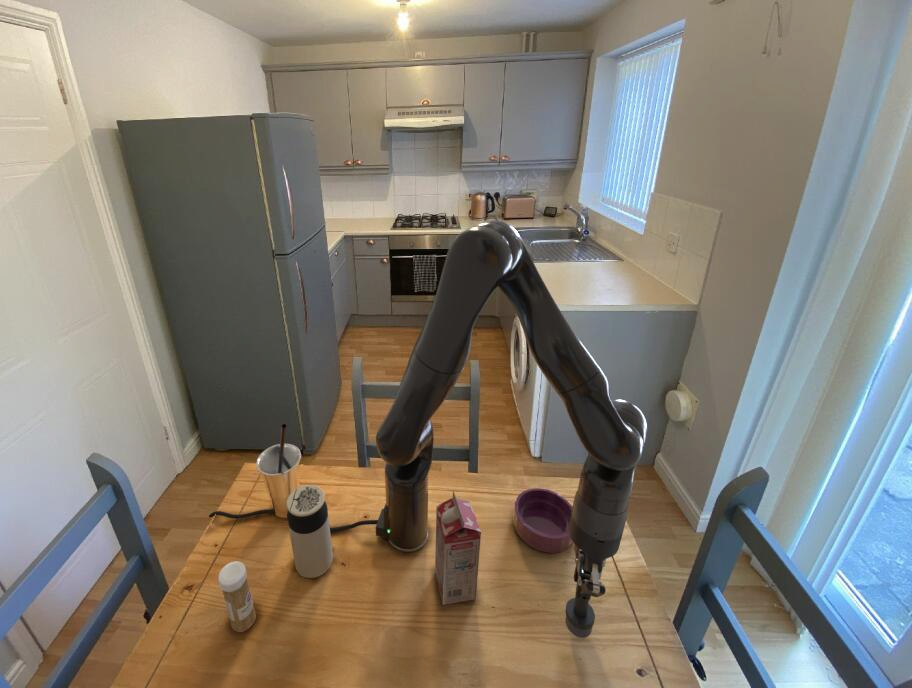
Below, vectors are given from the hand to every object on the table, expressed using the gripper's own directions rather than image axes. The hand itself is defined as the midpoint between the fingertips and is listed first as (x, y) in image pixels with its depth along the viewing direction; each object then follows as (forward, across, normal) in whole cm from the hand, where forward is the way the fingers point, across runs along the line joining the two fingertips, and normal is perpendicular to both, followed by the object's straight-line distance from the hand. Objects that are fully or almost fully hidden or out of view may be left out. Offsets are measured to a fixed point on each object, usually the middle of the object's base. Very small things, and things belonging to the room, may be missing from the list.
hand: (581, 589), depth 73 cm
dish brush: (+10, 0, +1) cm, 10 cm away
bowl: (+11, -21, -4) cm, 24 cm away
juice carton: (+11, -3, -22) cm, 25 cm away
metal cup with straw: (+11, -12, -64) cm, 66 cm away
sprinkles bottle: (+11, +13, -60) cm, 62 cm away
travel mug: (+11, -1, -52) cm, 53 cm away
